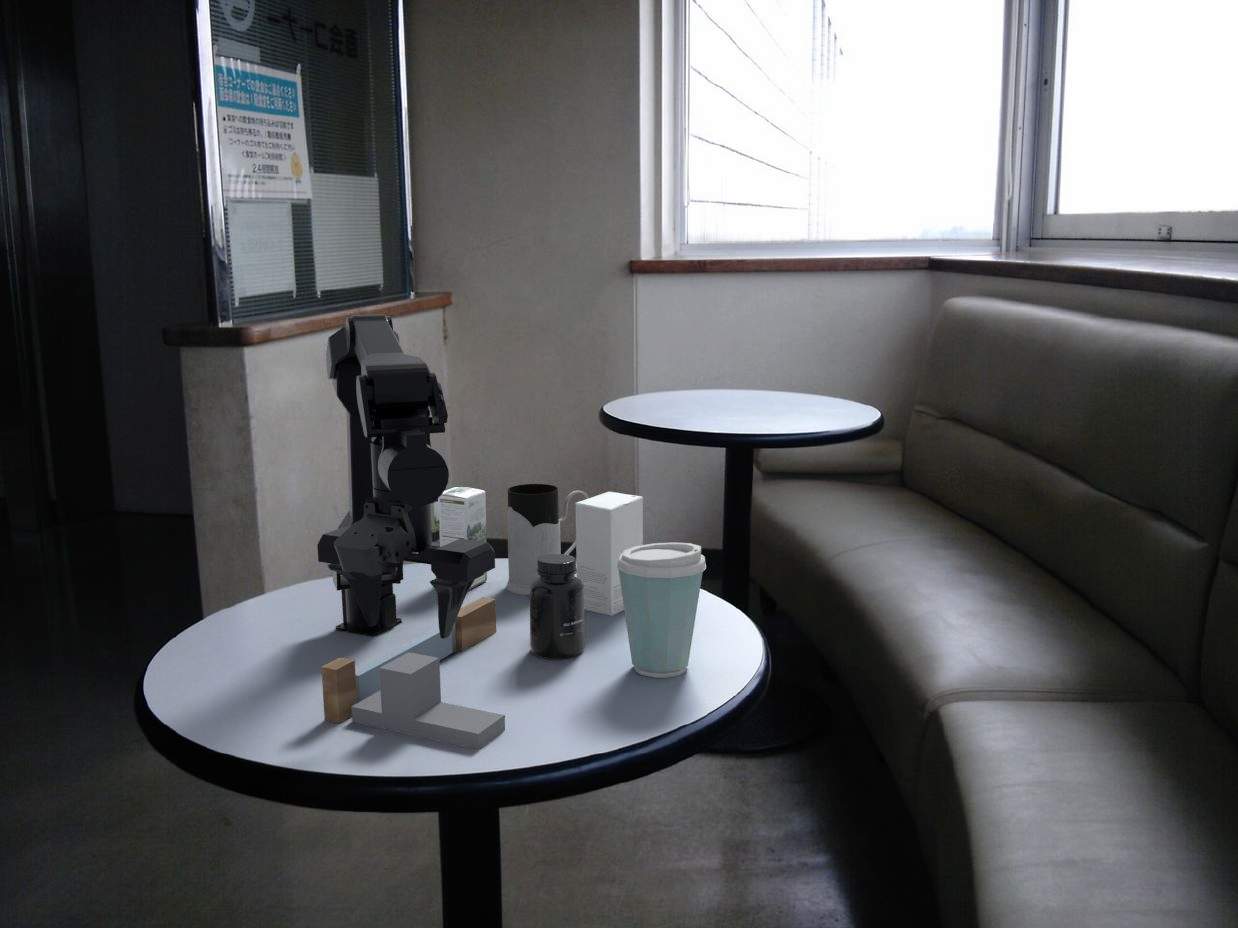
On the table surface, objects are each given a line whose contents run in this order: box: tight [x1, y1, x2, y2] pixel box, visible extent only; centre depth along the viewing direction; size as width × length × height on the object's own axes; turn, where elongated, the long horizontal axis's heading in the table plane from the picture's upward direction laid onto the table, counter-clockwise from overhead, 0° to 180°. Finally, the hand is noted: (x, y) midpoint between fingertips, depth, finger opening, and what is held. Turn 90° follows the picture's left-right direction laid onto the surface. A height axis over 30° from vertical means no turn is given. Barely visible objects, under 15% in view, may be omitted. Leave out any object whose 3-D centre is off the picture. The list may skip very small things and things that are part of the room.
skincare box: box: [574, 491, 644, 617], centre depth 151 cm, size 8×7×16 cm
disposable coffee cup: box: [617, 541, 707, 679], centre depth 127 cm, size 11×11×15 cm
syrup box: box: [433, 486, 488, 591], centre depth 162 cm, size 6×6×14 cm
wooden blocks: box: [320, 596, 497, 724], centre depth 128 cm, size 2×31×6 cm, turn 154°
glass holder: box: [505, 483, 590, 596], centre depth 162 cm, size 9×14×15 cm, turn 123°
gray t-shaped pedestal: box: [351, 652, 506, 750], centre depth 113 cm, size 16×5×7 cm, turn 64°
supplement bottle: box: [529, 553, 585, 660], centre depth 134 cm, size 7×7×12 cm
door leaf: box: [355, 623, 457, 703], centre depth 126 cm, size 1×19×4 cm, turn 154°
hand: (408, 631), depth 113 cm, fingers open, 9 cm apart
